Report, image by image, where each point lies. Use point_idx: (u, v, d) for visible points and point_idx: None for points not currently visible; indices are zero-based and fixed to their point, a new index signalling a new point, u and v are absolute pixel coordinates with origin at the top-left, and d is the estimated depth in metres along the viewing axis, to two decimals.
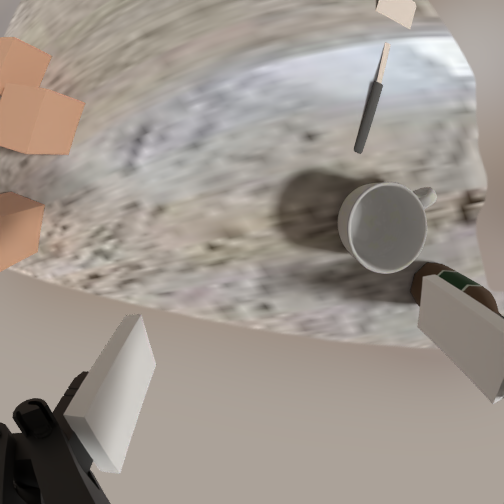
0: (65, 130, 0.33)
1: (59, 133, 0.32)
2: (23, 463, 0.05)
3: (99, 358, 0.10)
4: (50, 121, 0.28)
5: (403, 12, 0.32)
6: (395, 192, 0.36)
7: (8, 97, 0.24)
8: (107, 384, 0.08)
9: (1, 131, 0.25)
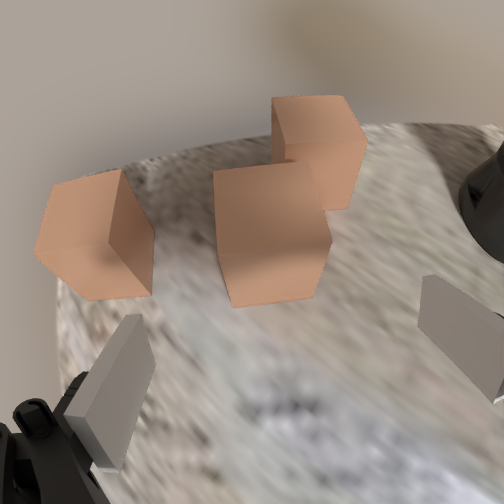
0: (267, 292, 0.27)
1: (261, 287, 0.26)
2: (23, 463, 0.05)
3: (99, 358, 0.10)
4: (277, 268, 0.23)
5: None
6: None
7: (290, 176, 0.23)
8: (107, 384, 0.08)
9: (236, 188, 0.23)
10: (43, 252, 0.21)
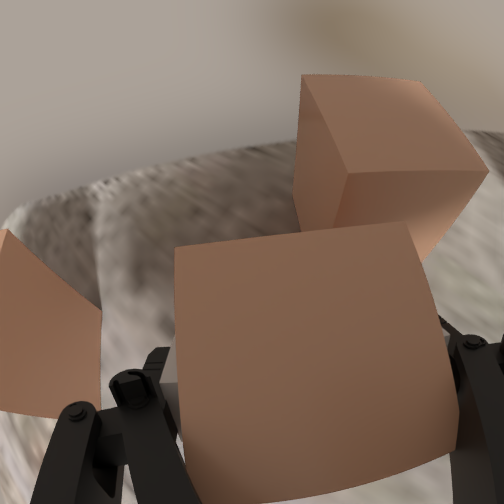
0: None
1: None
2: (113, 439, 0.07)
3: None
4: None
5: None
6: None
7: (372, 266, 0.09)
8: None
9: (235, 306, 0.08)
10: None
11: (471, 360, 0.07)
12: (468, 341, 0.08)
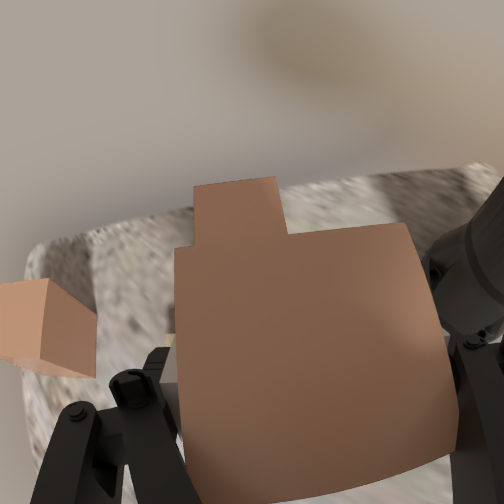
0: None
1: None
2: (113, 439, 0.07)
3: None
4: None
5: None
6: None
7: (373, 267, 0.09)
8: None
9: (235, 307, 0.08)
10: None
11: (471, 360, 0.07)
12: (468, 341, 0.08)
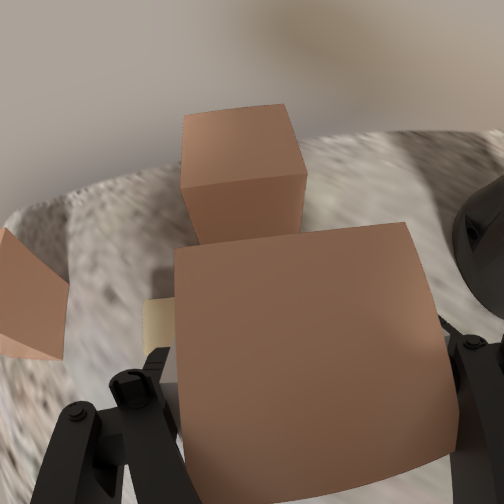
0: None
1: None
2: (113, 439, 0.07)
3: None
4: None
5: None
6: None
7: (373, 267, 0.09)
8: None
9: (235, 307, 0.08)
10: None
11: (471, 360, 0.07)
12: (468, 341, 0.08)
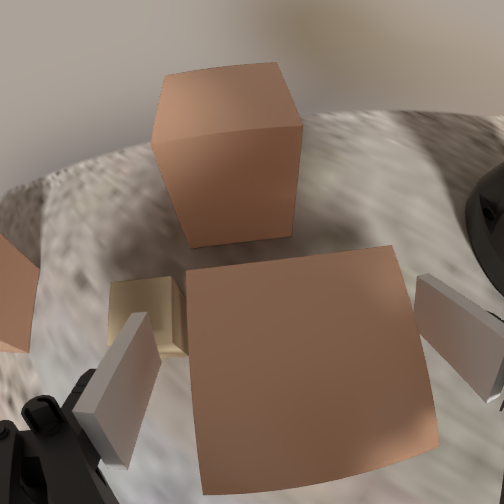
0: None
1: None
2: (31, 460, 0.05)
3: (106, 355, 0.10)
4: None
5: None
6: None
7: (360, 288, 0.10)
8: (115, 381, 0.09)
9: (240, 323, 0.10)
10: None
11: None
12: None
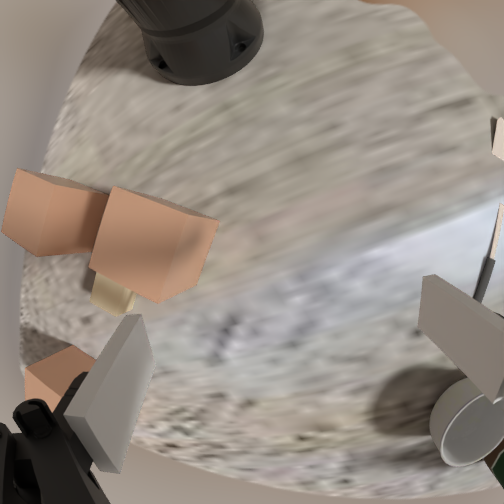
0: (198, 259, 0.31)
1: (192, 265, 0.30)
2: (23, 463, 0.05)
3: (99, 358, 0.10)
4: (186, 255, 0.27)
5: None
6: None
7: (119, 210, 0.24)
8: (107, 384, 0.08)
9: (110, 258, 0.25)
10: None
11: None
12: None
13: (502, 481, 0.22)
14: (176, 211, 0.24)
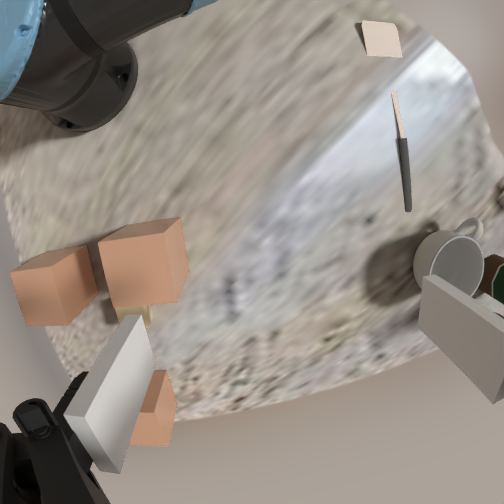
0: (182, 254, 0.39)
1: (181, 260, 0.38)
2: (23, 463, 0.05)
3: (99, 358, 0.10)
4: (175, 258, 0.34)
5: (390, 42, 0.34)
6: None
7: (112, 256, 0.31)
8: (107, 384, 0.08)
9: (126, 292, 0.32)
10: (166, 441, 0.38)
11: None
12: None
13: None
14: (154, 235, 0.30)
